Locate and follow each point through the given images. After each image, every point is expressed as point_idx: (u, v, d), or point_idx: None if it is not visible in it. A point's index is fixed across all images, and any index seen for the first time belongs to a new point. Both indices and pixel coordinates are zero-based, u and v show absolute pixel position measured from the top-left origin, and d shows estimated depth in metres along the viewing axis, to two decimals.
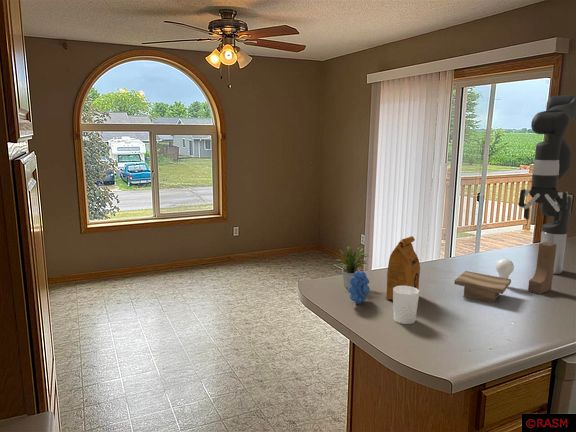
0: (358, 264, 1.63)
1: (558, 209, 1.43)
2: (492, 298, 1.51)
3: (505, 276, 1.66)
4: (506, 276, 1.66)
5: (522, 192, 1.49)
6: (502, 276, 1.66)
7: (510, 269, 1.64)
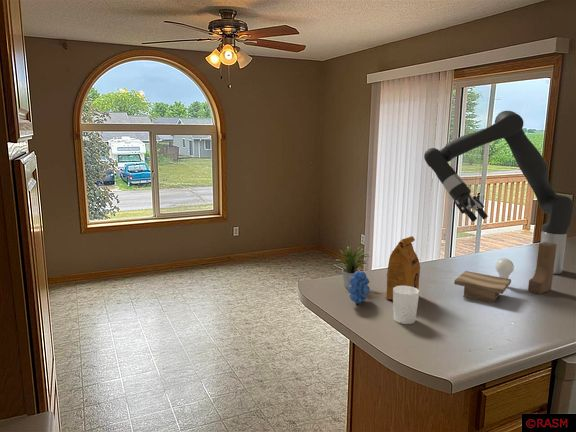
0: (358, 264, 1.63)
1: None
2: (492, 298, 1.51)
3: (505, 276, 1.66)
4: (506, 276, 1.66)
5: None
6: (502, 276, 1.66)
7: (510, 269, 1.64)
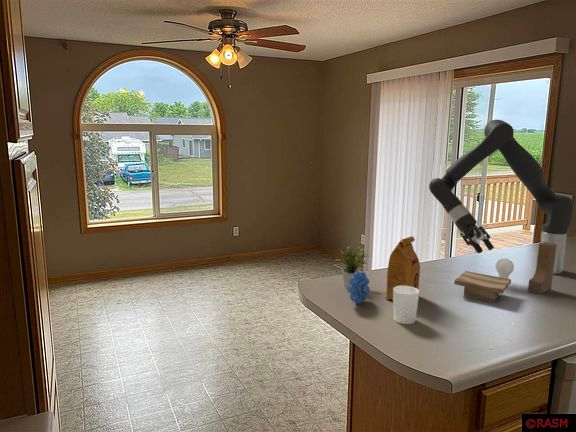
0: (358, 264, 1.63)
1: None
2: (492, 298, 1.51)
3: (505, 276, 1.66)
4: (506, 276, 1.66)
5: None
6: (502, 276, 1.66)
7: (510, 269, 1.64)
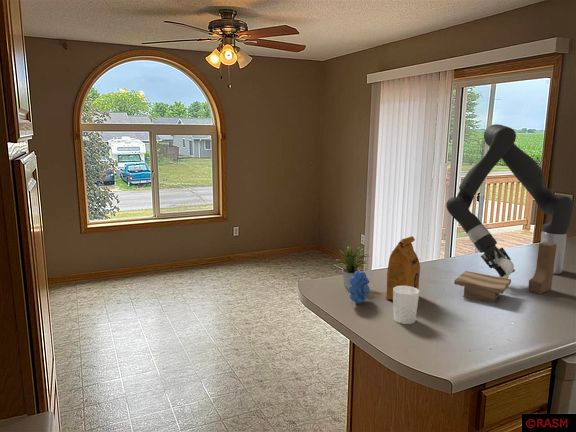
0: (358, 264, 1.63)
1: None
2: (492, 298, 1.51)
3: (505, 276, 1.66)
4: (506, 276, 1.66)
5: None
6: None
7: (510, 269, 1.64)
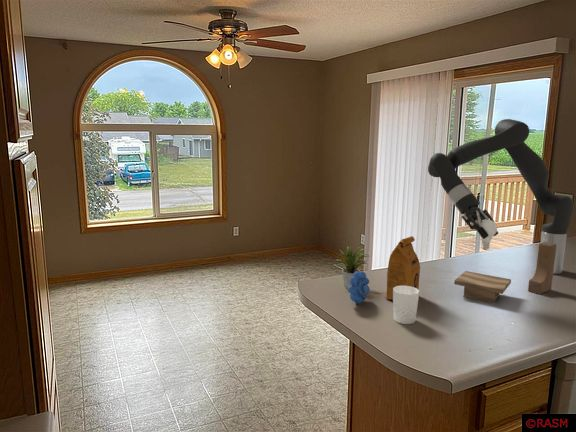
0: (358, 264, 1.63)
1: None
2: (492, 298, 1.51)
3: (487, 238, 1.53)
4: (488, 238, 1.53)
5: None
6: None
7: (493, 230, 1.51)
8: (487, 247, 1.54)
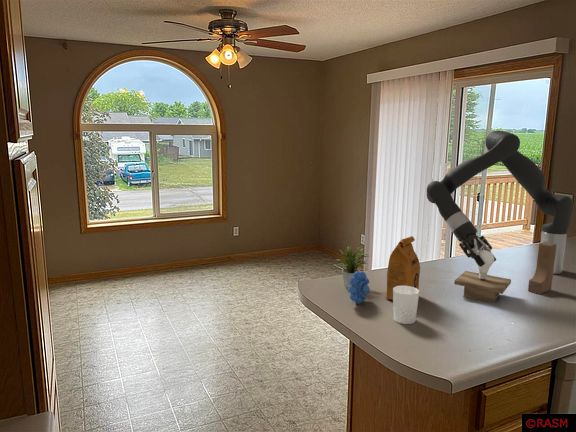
0: (358, 264, 1.63)
1: None
2: (492, 298, 1.51)
3: (485, 269, 1.54)
4: (486, 269, 1.54)
5: None
6: (482, 269, 1.55)
7: (490, 261, 1.53)
8: (484, 277, 1.56)
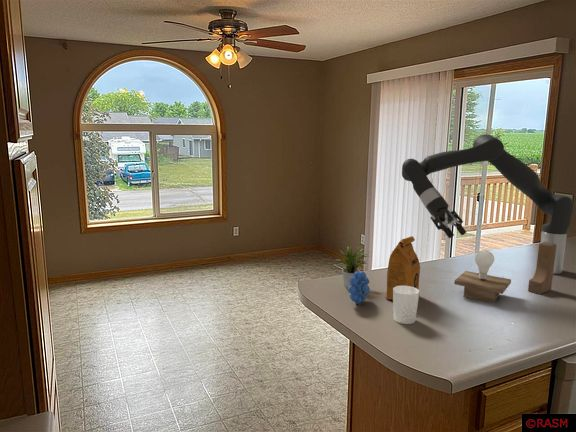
0: (358, 264, 1.63)
1: None
2: (492, 298, 1.51)
3: (485, 269, 1.54)
4: (486, 269, 1.54)
5: None
6: (481, 269, 1.55)
7: (490, 261, 1.53)
8: (484, 277, 1.56)
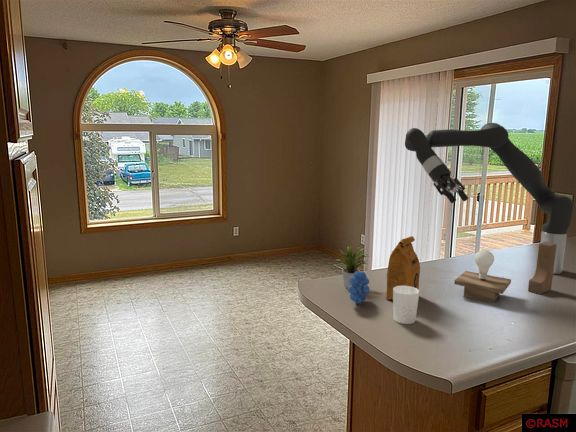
0: (358, 264, 1.63)
1: None
2: (492, 298, 1.51)
3: (485, 269, 1.54)
4: (486, 269, 1.54)
5: None
6: (481, 269, 1.55)
7: (490, 261, 1.53)
8: (484, 277, 1.56)
